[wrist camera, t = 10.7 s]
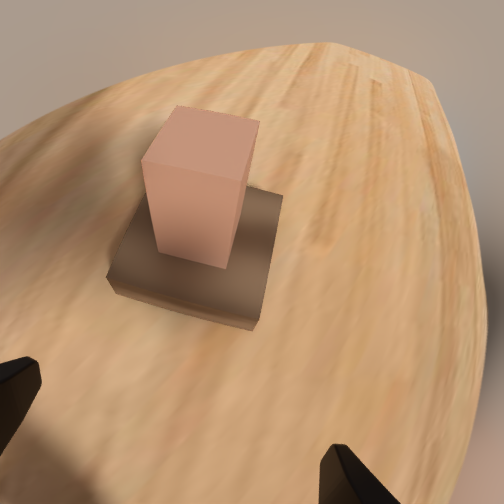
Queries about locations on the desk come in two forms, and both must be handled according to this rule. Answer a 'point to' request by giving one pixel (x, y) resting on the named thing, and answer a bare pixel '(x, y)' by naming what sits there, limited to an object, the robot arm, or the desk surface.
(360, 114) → the desk surface
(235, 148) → the terracotta block
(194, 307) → the walnut plinth
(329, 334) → the desk surface
